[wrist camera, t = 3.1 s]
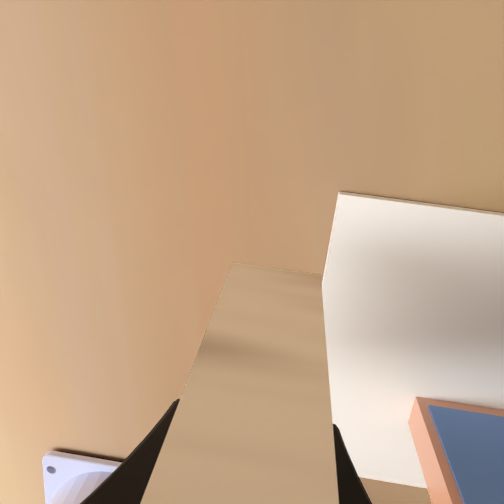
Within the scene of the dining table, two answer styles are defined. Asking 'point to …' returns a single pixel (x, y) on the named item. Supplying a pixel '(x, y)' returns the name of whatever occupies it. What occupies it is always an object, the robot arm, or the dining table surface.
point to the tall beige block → (254, 400)
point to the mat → (409, 321)
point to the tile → (459, 451)
